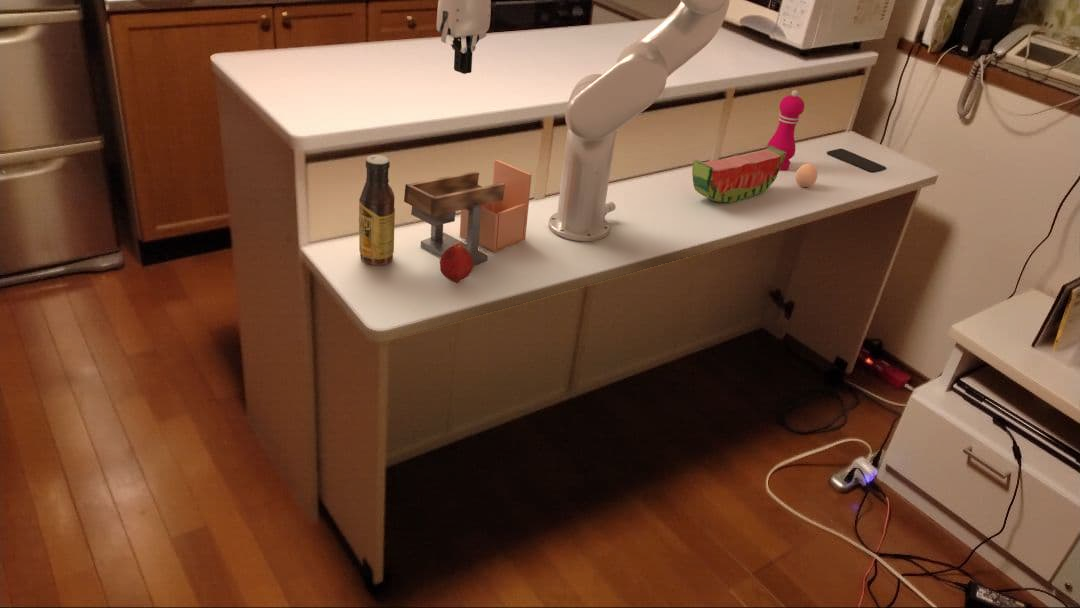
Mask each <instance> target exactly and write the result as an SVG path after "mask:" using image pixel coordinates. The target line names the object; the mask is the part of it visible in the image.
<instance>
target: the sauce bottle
mask: <svg viewBox="0 0 1080 608" xmlns="http://www.w3.org/2000/svg"><path fill="white" fill-rule="evenodd" d="M390 163H391V162H390V159H389V157H387V156H385V155H380V154H373V155H368V157H366V159H365V168H366V179H365V183H364V186H363V189H362V192H361V194H360V197H359V199H358V200H359V202H358V205H359V206H358V211H359V213H358V215H359V216H358V223H359V224H358V225H359V227H358V231H359V236H358V238H359V239H358V240H359V243H358V244H359V247H358V248H359V249H358V250H359V253H360V254H359V257H360V260H361V261H362V262H363V263H366V264H367V265H368V266H383V265H386V264H389V263H391V262H392V261H393V257H394V253H395V251H394V250H395V222H396V221H395V218H396V217H395V215H396V209H395V194H394V191H393V188H392V186H390V184H389V182H390V180H389V169H390V166H391V165H390Z"/></svg>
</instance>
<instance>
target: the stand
mask: <svg viewBox="0 0 1080 608" xmlns="http://www.w3.org/2000/svg"><path fill="white" fill-rule="evenodd" d="M480 221H481V205H480V204H478V203H475V204H473V205H470V206H469V212H468V230H467V240H466V243H465V242H464V241H462V240H459V239H457V238H455V237H453V236H452V235H449V234H447V233H446V232H444V224H442V225H437V226H432V225H431V224H430V237H428V238H426V239H423V240H421V241H420V247H421V248H422V249H424V250H426V251H428V252H430V253H431V254H433V255H435V256H437V257H439V258H440V259H441V256H442V255H443V253H444V252H445V251H446V250H447V249H448V248H450V247H452V246H454V245H455V243H457V242H461V243H462V247H463V248H464V249H466V250H467V251H468V252H469V253H470V255H471V257H472V260H473V268H474V267H476V266H479V265H481V264H483V263H486V262H488V258H489V255H488V254H487V253H485V252H482V251H480V250H479V249H480V248H479V247H480V246H479V236H480Z"/></svg>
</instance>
